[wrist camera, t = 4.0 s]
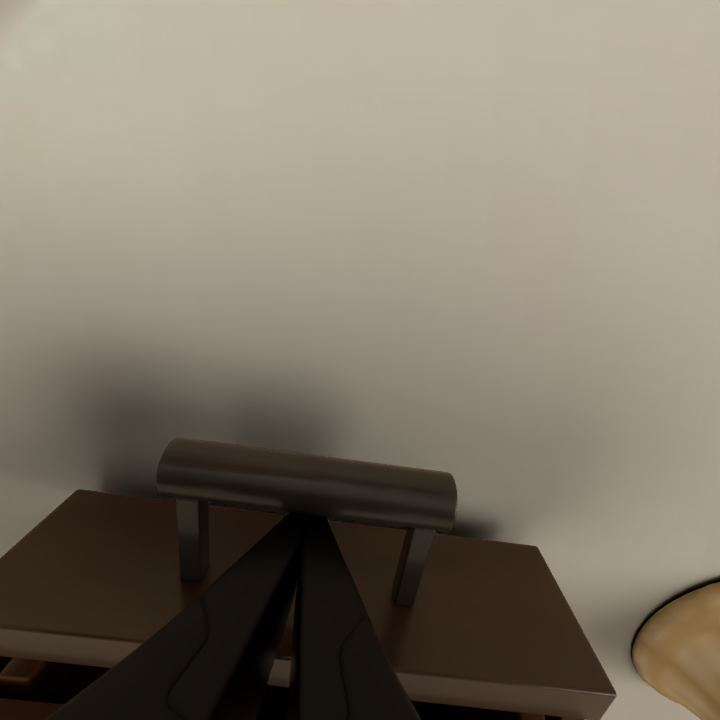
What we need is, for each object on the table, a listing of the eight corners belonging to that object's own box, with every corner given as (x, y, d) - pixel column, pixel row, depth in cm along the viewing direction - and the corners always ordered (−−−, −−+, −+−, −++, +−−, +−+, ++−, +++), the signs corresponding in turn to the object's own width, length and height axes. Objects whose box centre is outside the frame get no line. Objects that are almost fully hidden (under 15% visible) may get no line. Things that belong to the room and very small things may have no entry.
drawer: (56, 375, 10) (-140, 466, 6) (581, 446, 11) (706, 571, 7) (122, 731, 17) (49, 882, 13) (441, 763, 18) (463, 918, 14)
